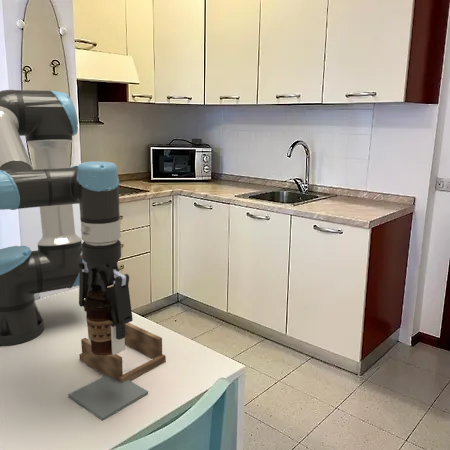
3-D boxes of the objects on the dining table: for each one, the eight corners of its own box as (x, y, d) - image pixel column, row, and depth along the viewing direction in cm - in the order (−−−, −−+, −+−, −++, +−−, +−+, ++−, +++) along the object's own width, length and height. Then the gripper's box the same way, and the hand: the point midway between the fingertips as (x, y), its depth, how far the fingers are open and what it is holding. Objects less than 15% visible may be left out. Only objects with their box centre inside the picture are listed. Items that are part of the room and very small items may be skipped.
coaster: (68, 396, 101) (68, 394, 100) (113, 373, 110) (113, 371, 109) (102, 420, 93) (102, 417, 93) (148, 393, 102) (148, 391, 102)
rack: (79, 360, 115) (78, 337, 114) (123, 340, 125) (122, 319, 124) (122, 385, 105) (121, 361, 104) (165, 361, 115) (165, 339, 114)
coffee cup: (116, 363, 94) (114, 303, 90) (78, 358, 95) (74, 298, 92) (133, 342, 102) (132, 286, 99) (98, 338, 104) (95, 283, 100)
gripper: (56, 235, 96) (63, 336, 102) (118, 255, 84) (122, 369, 89) (87, 228, 102) (92, 325, 107) (149, 246, 90) (152, 354, 95)
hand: (106, 345), depth 98 cm, fingers closed on coffee cup, 7 cm apart
